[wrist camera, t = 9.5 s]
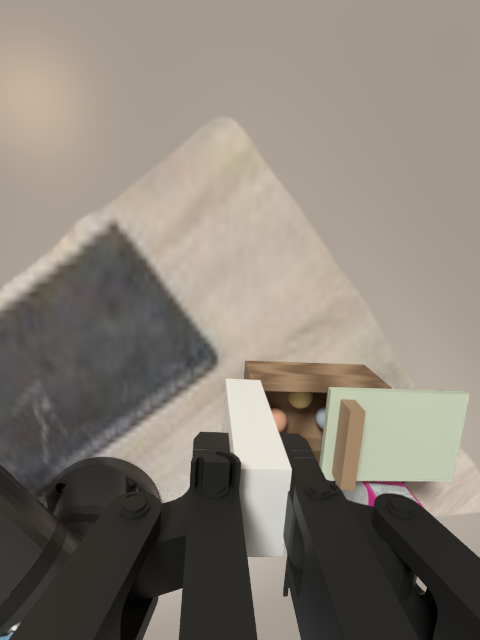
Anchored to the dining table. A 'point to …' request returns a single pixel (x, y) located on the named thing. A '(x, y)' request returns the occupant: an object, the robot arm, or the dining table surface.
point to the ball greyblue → (321, 416)
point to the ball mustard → (300, 399)
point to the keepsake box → (307, 390)
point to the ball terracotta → (279, 418)
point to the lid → (391, 435)
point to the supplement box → (376, 491)
